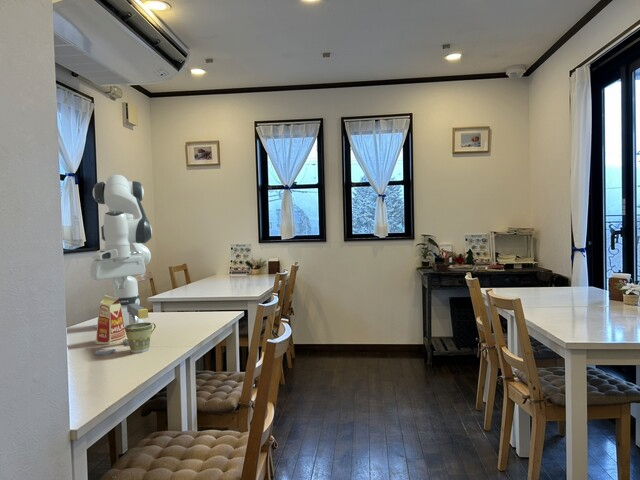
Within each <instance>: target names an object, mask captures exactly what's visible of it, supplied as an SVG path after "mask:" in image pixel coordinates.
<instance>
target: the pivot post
mask: <svg viewBox="0 0 640 480" xmlns="http://www.w3.org/2000/svg"><path fill="white" fill-rule="evenodd" d="M134 323H139V322H138V317H136V316H135V315H133V314H132V313H129V325H130V324H134ZM122 343H123V344H124V345H125V346H126V347H130V346H129V342H128V338H126V339H124V340H122Z"/></svg>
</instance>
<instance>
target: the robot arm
mask: <svg viewBox="0 0 640 480" xmlns="http://www.w3.org/2000/svg"><path fill="white" fill-rule="evenodd" d="M144 196H145V190H144V187H143V184H142V183H141V182H139V181H135V180H134V181H131V180H130V181H129V180H128V179H127V178H126V176H124V175H122V174H113V175H111V176H109V177H108V178H107V180H106V181H100V182H99V181H98V182H96V184H94V186H93V188H92V197H93V198H94V200H95V202H96V203H97V204H99V205H105V206H106V207H107V208H108V212H105V213H104V215H103V224H102V225H101V226H100V230H101V232H100V233H101V240H103V241H104V248H101V249H99V250H97V252H95V253H93V254H92V255H91V259H92V261H91V263H90V278H91V279H92V280H93V281H100V280H101V281H103V280H108V279H110V281H111V282H112V288H113V295H114V298H119V299H118V301H119V302H120V304H121V309H122V313H123V319H124V324H125V326H127V325H129V313H128V312H127V305H128V304H134V303H138V305H139V306H141V299H140V294H139V288H138V287H139V286H138V280H137V278H136V277H134V276H138V275H139V276H140V275H145V273H146V270H147V269H146V265H149V263H150V261H151V259H152V252H151V250H150V249H149V248H148V247H147V246H146V245H144V244H146V243H148V242H149V241H150V240H151V239H152V236H153V228H152V225H151V223H150V221H149V219H148V218H147V214H146V213H145V209H144V207H143V205H142V201H143V199H144ZM134 218H135V219H134ZM138 322H139V323H143V322H145V321H144V318H143V319H139V318H138ZM95 328H96V329H97V324H95Z"/></svg>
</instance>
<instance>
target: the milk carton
mask: <svg viewBox="0 0 640 480" xmlns="http://www.w3.org/2000/svg"><path fill="white" fill-rule="evenodd" d="M103 296H104V297H103V299H102V300H101V301H100V302H99V307H98V316H97V322H96V323H97V324H96V325H97V328H96V336H95V337H96V338H95V344H98V345H112V344H115V343H119V342H123V340H125V339H127V335H126V332H125V324H124V319H123V313H122V309H121V304H120V302H119V301H118V299H119V298H114V297H113V296H110V295H106V294H104V295H103Z"/></svg>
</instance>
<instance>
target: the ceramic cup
mask: <svg viewBox="0 0 640 480" xmlns="http://www.w3.org/2000/svg"><path fill="white" fill-rule="evenodd" d="M153 325H154V327H153ZM155 330H156V323H155V322H148V321H147V322H145V321H144V322H143V323H134V324H130V325H127V326H125V332H126V339H128V342H129V346H128V347H129V350H130V352H131V353H133V354H139V353H140V354H141V353H145V352H148V351H149V350H150V346H151V345H150V344H151V335H152V333H154V331H155Z"/></svg>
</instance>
